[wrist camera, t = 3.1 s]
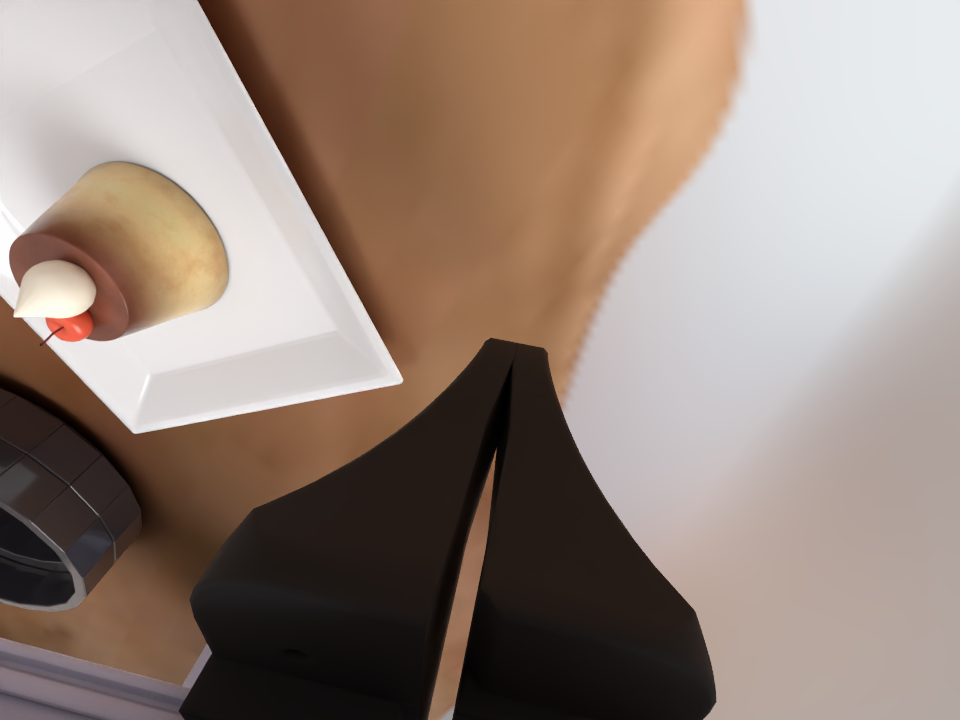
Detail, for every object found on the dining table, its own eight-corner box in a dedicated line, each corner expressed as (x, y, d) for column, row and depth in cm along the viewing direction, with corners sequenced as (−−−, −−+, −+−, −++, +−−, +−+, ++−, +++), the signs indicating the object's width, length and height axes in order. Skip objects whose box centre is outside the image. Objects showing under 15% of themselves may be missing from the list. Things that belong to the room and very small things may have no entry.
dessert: (153, 415, 20) (51, 513, 16) (-132, 101, 14) (-400, 141, 10) (415, 361, 16) (360, 476, 12) (170, -114, 10) (-90, -178, 6)
